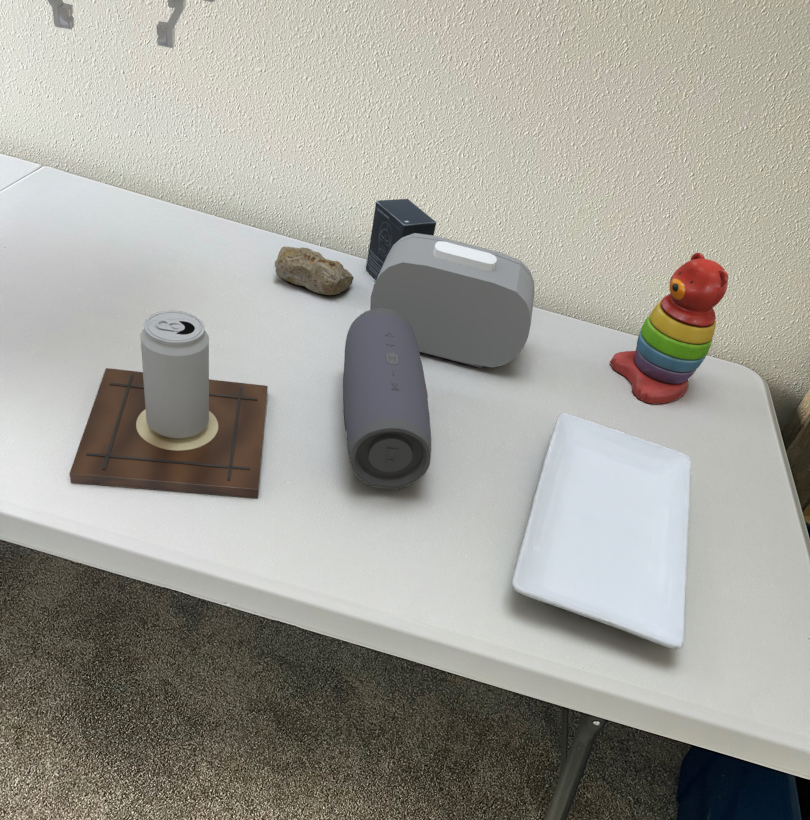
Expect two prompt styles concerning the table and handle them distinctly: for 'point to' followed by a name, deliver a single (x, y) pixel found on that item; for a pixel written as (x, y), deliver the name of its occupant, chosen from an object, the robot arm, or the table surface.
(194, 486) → the board
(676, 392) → the stacking bear
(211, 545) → the table surface
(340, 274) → the rock
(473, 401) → the table surface
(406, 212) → the box
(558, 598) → the tray
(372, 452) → the bluetooth speaker
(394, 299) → the grey rounded block
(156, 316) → the beverage can
